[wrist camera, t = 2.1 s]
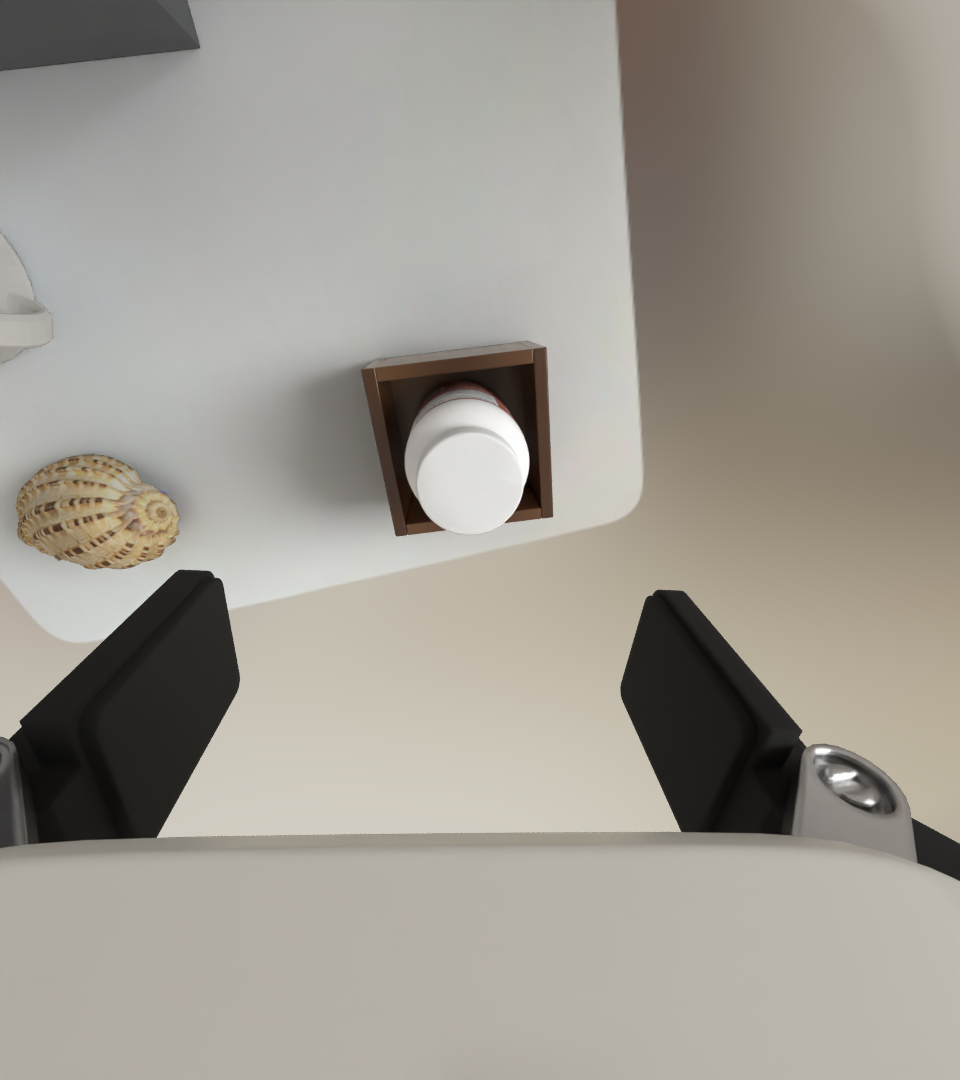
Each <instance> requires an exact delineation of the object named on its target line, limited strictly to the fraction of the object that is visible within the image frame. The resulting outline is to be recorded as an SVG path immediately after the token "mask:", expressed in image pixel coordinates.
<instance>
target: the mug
mask: <svg viewBox="0 0 960 1080" xmlns="http://www.w3.org/2000/svg"><path fill="white" fill-rule="evenodd" d="M52 339H53V321H52V314H51V313H50V312H49V311H48V310H47V309H46V308H45V307H44V306H43V305H41V304H39V303H38V302H36V301H35V296H34V292H33V289H32V285H31V282H30V279H29V277H28V275H27V272H26V270H25V268H24V266H23V264H22V262H21V261H20V259H19V257H18V255H17V254H16V252H15V251H14V249H13V248H12V247H11V245H10V244H9V242H8V241H7V240H6V238H5V237H4V236H3V235H2V234H1V233H0V364H1V363H4V362H6V361H8V360H10V359H12V358H14V357H15V356H16V355H18V354H19V353H20V352H21V351H22V350H23V349H27V348H35V347H39V346H42V345H44V344H46V343H48V342H50V341H51V340H52Z"/></svg>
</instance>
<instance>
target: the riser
mask: <svg viewBox="0 0 960 1080" xmlns="http://www.w3.org/2000/svg"><path fill="white" fill-rule="evenodd" d="M195 48H200V45H199V41H198V38H197V34H196V30H195V27H194V23H193V19H192V16H191V12H190V8H189V5H188V1H187V0H0V70H9V69H18V68H27V67H36V66H44V65H53V64H62V63H71V62H80V61H89V60H98V59H106V58H115V57H124V56H133V55H142V54H151V53H159V52H168V51H177V50H186V49H195Z"/></svg>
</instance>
